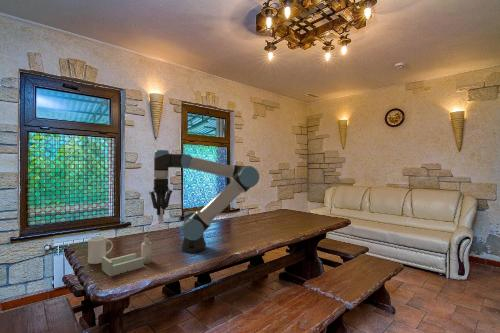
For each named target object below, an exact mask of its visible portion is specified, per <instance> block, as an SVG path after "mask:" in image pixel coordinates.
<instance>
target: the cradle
mask: <svg viewBox="0 0 500 333" xmlns="http://www.w3.org/2000/svg"><path fill="white" fill-rule="evenodd" d="M144 267H145V264H144V258H143V257H142V258H141V257H137V253H135V252H134V253H130V254H126V255H122V256H118V257H117V256H116V257H114V258H110V259H109V258H108V257H107V256H106V257H105V256H104V257H102V263H101V271H102V272H104V273H105V274H106V275H107V276H109V277H110V278H111V277H113V276H116V275H120V273H121V274H123V273H127V271H128V272H131V271H134V270H138V269H141V268H144Z"/></svg>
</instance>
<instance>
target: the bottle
mask: <svg viewBox="0 0 500 333" xmlns="http://www.w3.org/2000/svg"><path fill="white" fill-rule="evenodd" d="M150 236H151V235H150V233H148V234H144V235H143V242H141V245H140V246H141V248H140V249H141V252H140V253H141V255H140V258H142V257H143V258H144V265H146V264H151V263H152V261H153V260H152V259H153V258H152V257H153V256H152V253H153V249H152V248H153V242H152V241H150Z"/></svg>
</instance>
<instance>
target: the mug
mask: <svg viewBox="0 0 500 333" xmlns="http://www.w3.org/2000/svg"><path fill="white" fill-rule="evenodd" d="M87 242H88V243H87V244H88V246H87V247H88V248H87V253H88V255H87V263H88V264H89V265H95V264H96V265H97V264H102V257H104V256H105V257H106V258H107V254H109V253H110V252H112V250H113V248H114V245H113V241H112V240H110V239H107V237H106V236H94V237H93V236H92V237H90V238H88V240H87ZM107 242H109V243H110V244H111V248H110V249H109V250H108V251H106V250H107Z"/></svg>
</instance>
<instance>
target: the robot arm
mask: <svg viewBox="0 0 500 333" xmlns="http://www.w3.org/2000/svg"><path fill="white" fill-rule="evenodd" d="M153 156H154V157H153V162H154V163H153V166H154V167H153V168H154V169H153V178H154V179H153V188H152V190H151V191H149V192H148V194H149V195H150V199H151V202H152V207H153V209H155V210H156V215H157V221H158V222H164V215H165V210H166V209H167V208H168V207H169V204H170V198H171V195H172V193H173V190H171V189H170V188H169V169H170V168H178V169H179V168H180V169H181V168H182V169H189V170H192V171H193V170H194V171H196V172H202V173H206V174H210V175H211V174H212V175H216V176H220V177H225V178H229V179H230V181H231V182H230V183H228V184H227V185H226V186H225V187H224V188H222V190H221V191H220V192H219V193H217V195H215V196H214V197H213V198H212V199H211V200H210V201H209V202H208V203H206V205H205V206H203V208H202V209H200V210H193V211H191V210H190V211H189V210H188V211H185V212H184V214H183V217H184V219H183V224H182V225H181V231H182V232H181V233H182V235H183V239H182V242H181V244H180V251H181V252H184V253H189V254H192V253H194V254H195V253H200V252H203V251H205V250H206V249H207V244H206V240H205V236H204V233H205V231H206V230H208V228H210V227H211V224H212V223H211V222H212V221H214V219H215V218H216V217H217V216H218V215H220V213H221V212H223V211H224V210H225V209H226V208H227V207H228V206H229V205H230V204H232V202H233V201H234V200H236V199H237V197H238V196H240V195H241V194H242V193H243V194H244V193H247V192H248V191H249V190H250V189H251V188H253V187H255V186H256V185H257V184H258V183H259V181H260V173H259V171H258V170H257V168H255V167H254V166H253V165H238V164H237V165H236V164H233V165H230V164H225V163H221V162H216V161H212V160H208V159H204V158H199V157H194V156H191V155H190V154H185V153H181V154H180V153H170V151H169V150H167V149H166V150H165V149H156V150H155V151H154V155H153Z"/></svg>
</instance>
